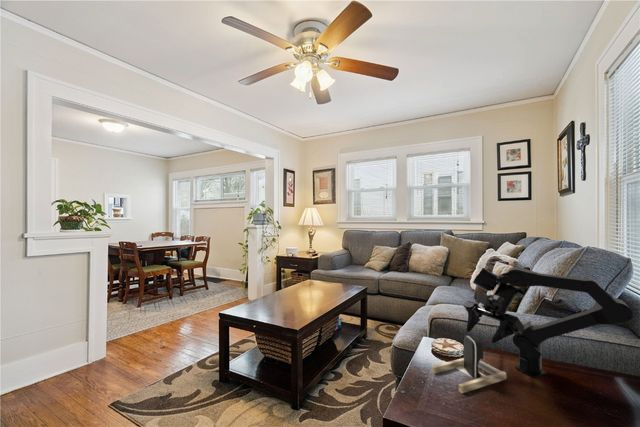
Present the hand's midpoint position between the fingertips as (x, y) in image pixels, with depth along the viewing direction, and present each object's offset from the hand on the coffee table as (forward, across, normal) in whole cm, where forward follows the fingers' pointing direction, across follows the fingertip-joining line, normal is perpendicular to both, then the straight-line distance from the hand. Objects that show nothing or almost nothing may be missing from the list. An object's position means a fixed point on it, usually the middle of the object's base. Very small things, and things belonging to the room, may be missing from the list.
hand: (479, 336), depth 98 cm
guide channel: (+12, 0, +6) cm, 13 cm away
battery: (+10, 0, +7) cm, 12 cm away
